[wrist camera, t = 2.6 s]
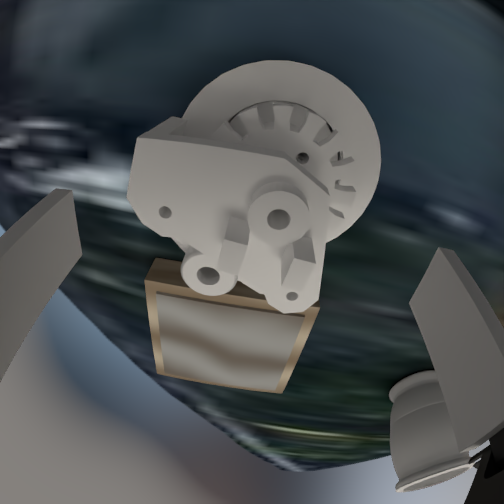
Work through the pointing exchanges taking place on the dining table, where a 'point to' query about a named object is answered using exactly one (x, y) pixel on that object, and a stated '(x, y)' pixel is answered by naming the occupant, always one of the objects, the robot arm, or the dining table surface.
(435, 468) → the jar
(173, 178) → the mechanical part
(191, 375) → the stand
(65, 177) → the dining table surface
